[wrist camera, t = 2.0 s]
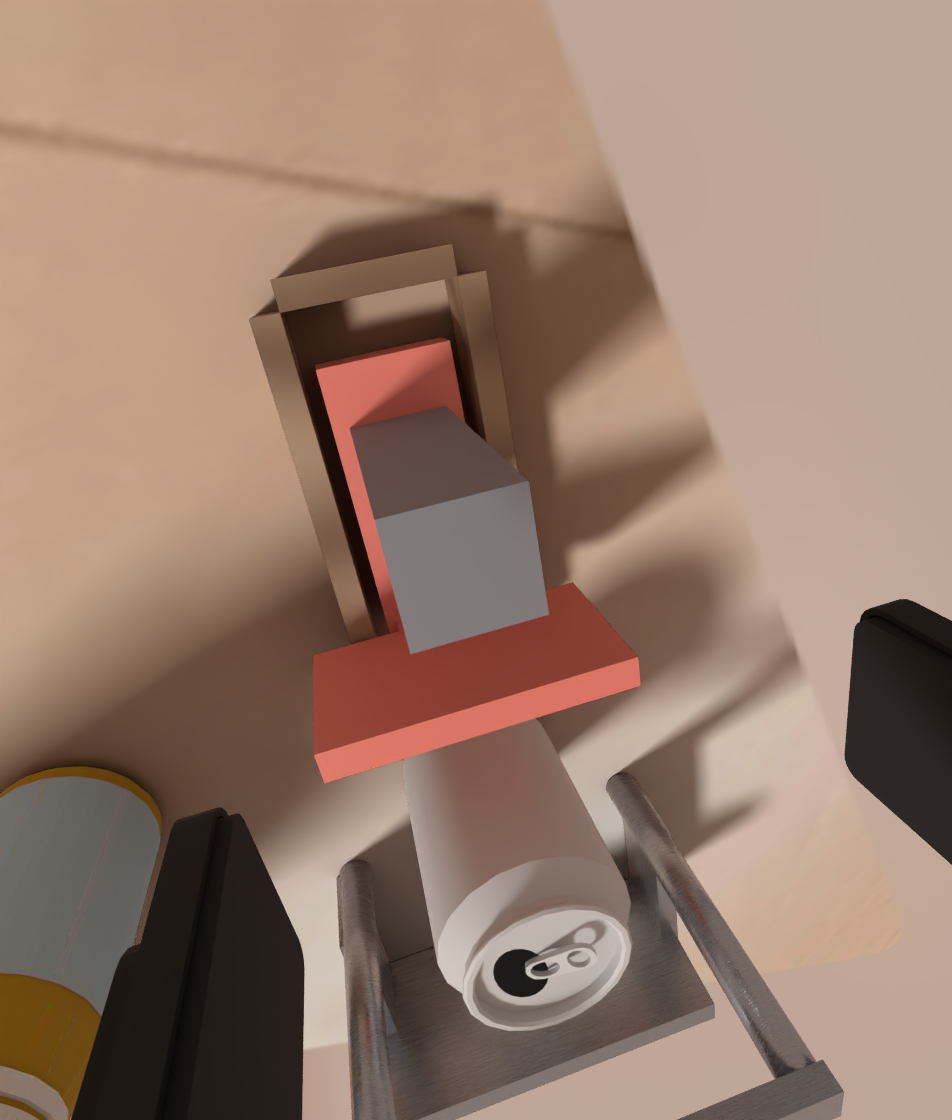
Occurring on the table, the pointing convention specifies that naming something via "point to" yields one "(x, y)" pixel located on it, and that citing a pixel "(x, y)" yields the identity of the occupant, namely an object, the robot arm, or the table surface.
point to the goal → (584, 1040)
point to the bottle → (65, 924)
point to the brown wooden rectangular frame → (296, 413)
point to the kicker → (445, 578)
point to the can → (516, 879)
